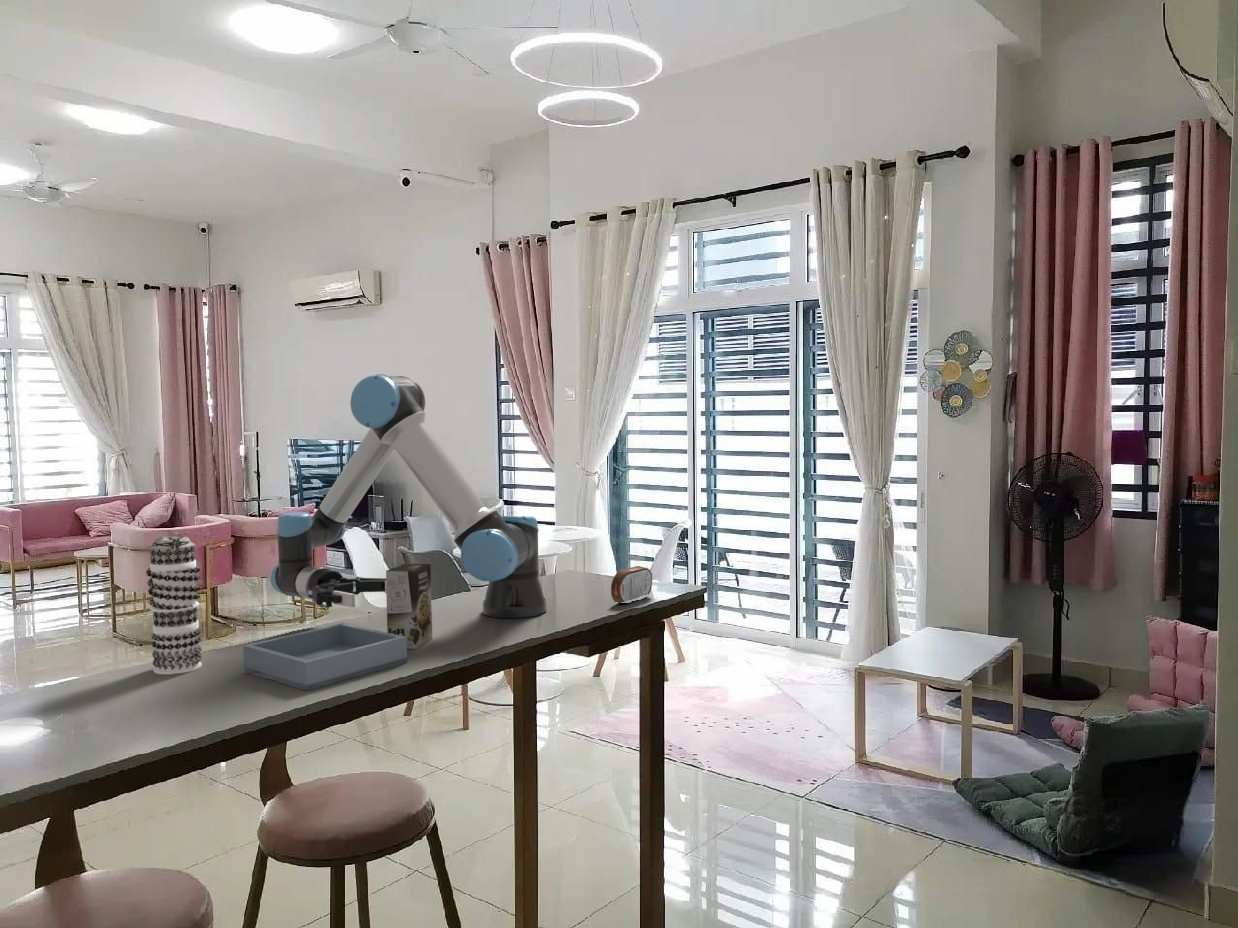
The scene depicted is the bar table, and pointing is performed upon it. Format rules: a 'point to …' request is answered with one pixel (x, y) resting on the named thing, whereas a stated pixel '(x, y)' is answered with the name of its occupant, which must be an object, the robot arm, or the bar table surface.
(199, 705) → the bar table surface
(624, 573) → the tin
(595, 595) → the bar table surface
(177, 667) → the decorative candle
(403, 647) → the tray
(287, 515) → the robot arm
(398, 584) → the cookie box
